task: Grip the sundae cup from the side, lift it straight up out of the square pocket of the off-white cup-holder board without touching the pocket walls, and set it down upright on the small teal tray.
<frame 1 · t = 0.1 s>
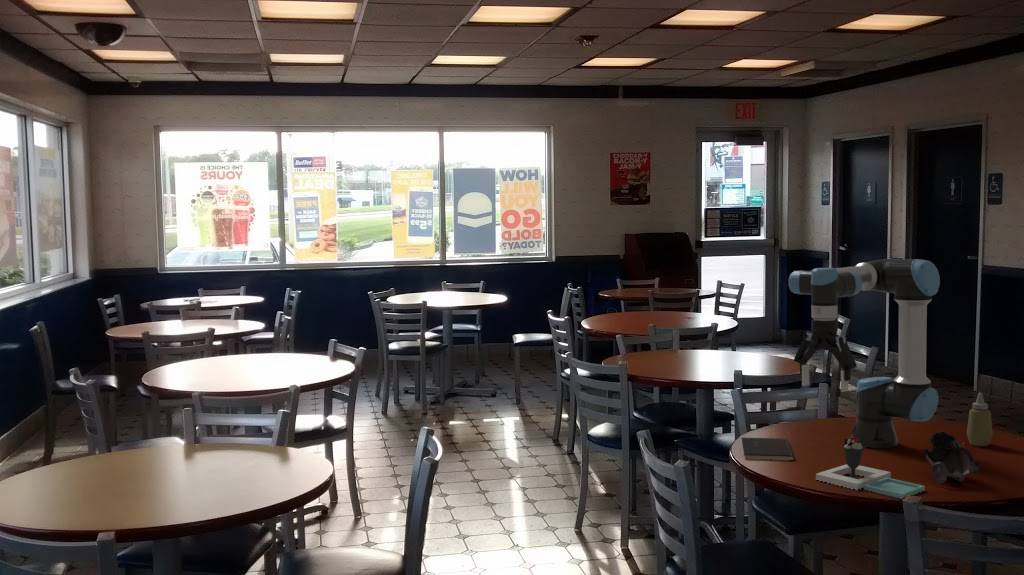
hand: (824, 388, 287), 28 cm above the table, tool pointing down, fingers open, 13 cm apart
holder board: (853, 479, 287), on the table
squeeze bottle: (979, 445, 325), on the table
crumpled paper: (947, 478, 286), on the table
hardcover book: (766, 453, 323), on the table
sundae: (853, 480, 287), resting in holder board
tray: (894, 490, 276), on the table
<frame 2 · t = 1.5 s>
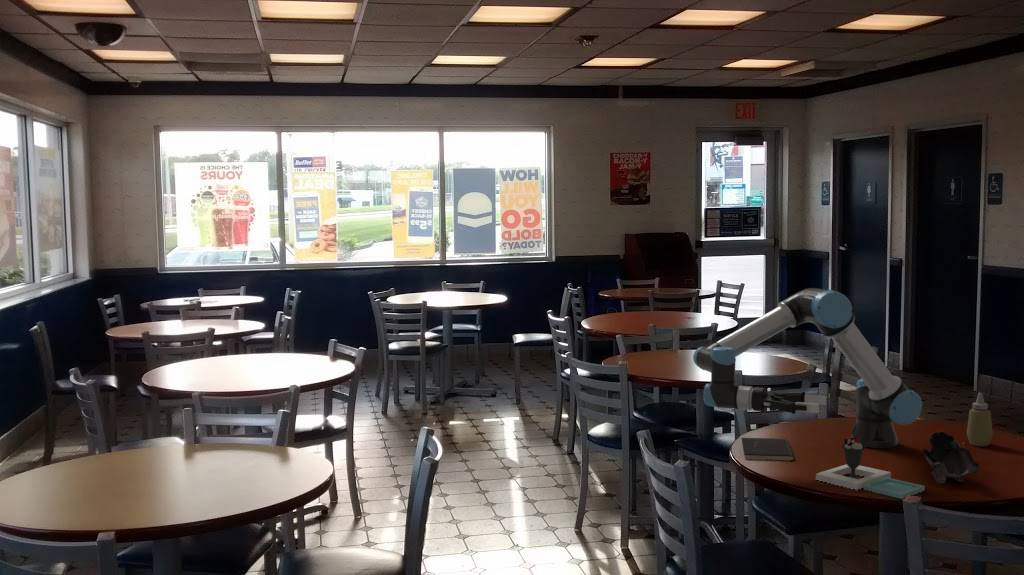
hand: (822, 404, 290), 22 cm above the table, tool horizontal, fingers open, 13 cm apart
nothing on the table moved.
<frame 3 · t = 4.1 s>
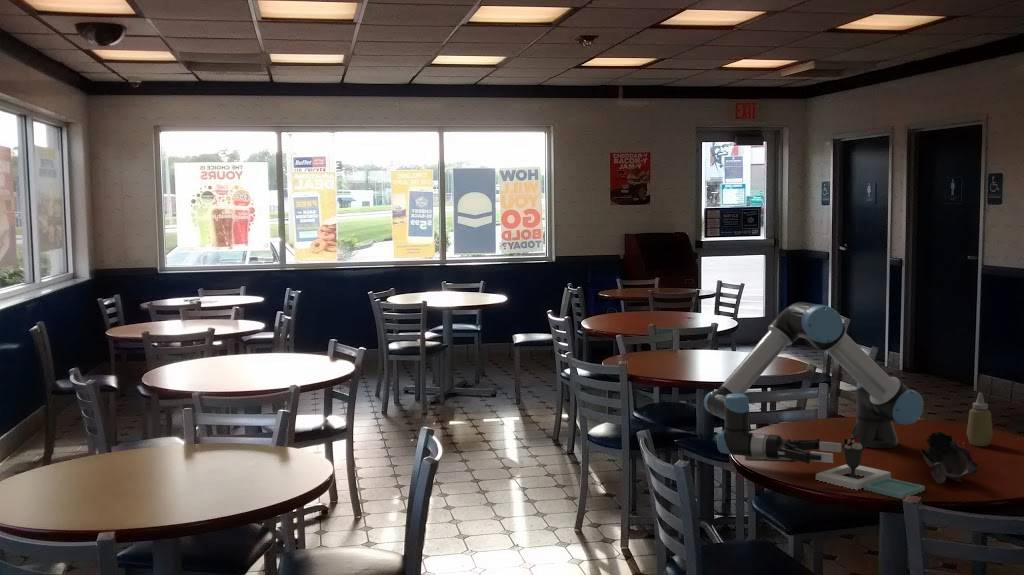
hand: (837, 453, 288), 8 cm above the table, tool horizontal, fingers open, 13 cm apart
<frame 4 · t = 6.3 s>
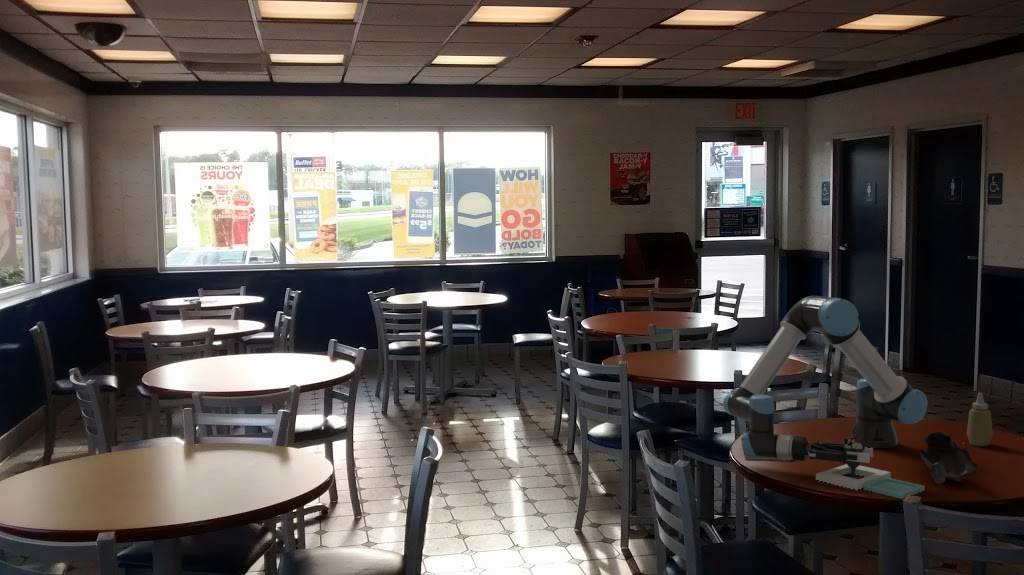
hand: (871, 455, 284), 8 cm above the table, tool horizontal, fingers closed on sundae, 6 cm apart
sundae: (853, 480, 287), resting in holder board, touching gripper
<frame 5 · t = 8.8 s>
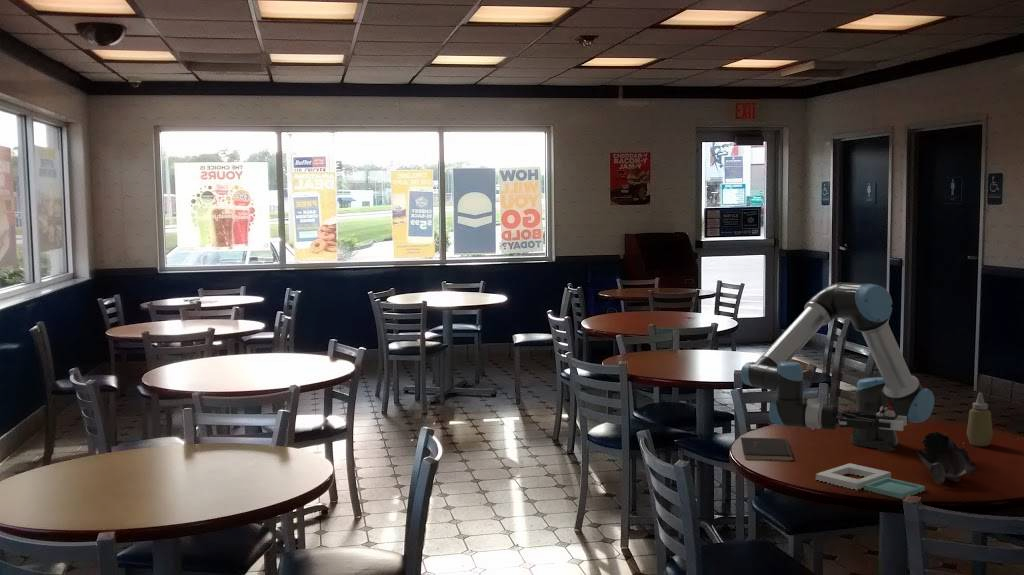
hand: (904, 423, 273), 20 cm above the table, tool horizontal, fingers closed on sundae, 6 cm apart
sundae: (885, 449, 276), point 12 cm above the table, touching gripper
when the fingers open (10 cm above the table, at t = 11.2 s): sundae drops 1 cm, resting on tray.
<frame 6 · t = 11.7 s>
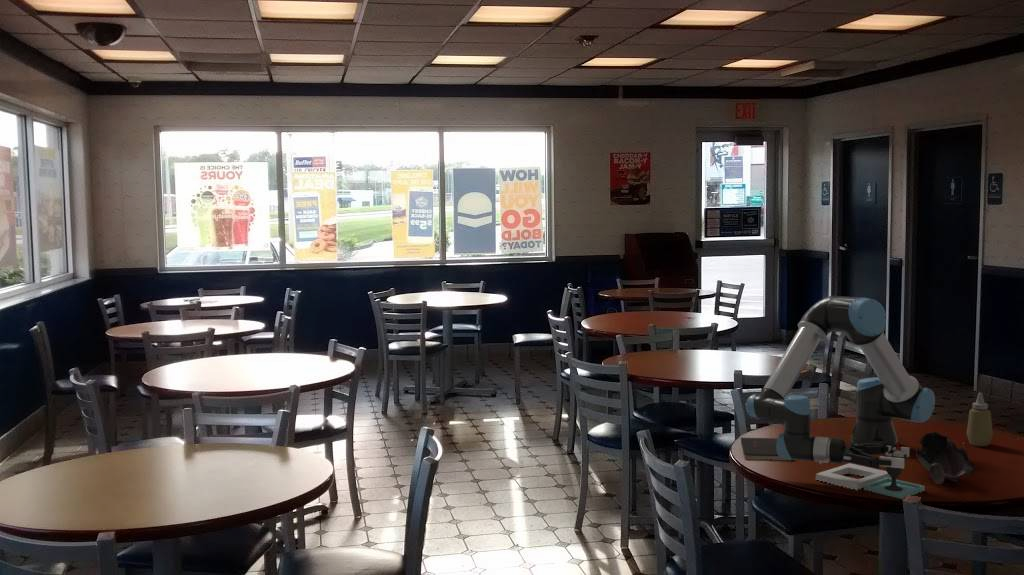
hand: (906, 457, 273), 10 cm above the table, tool horizontal, fingers open, 13 cm apart
sundae: (893, 489, 275), resting on tray
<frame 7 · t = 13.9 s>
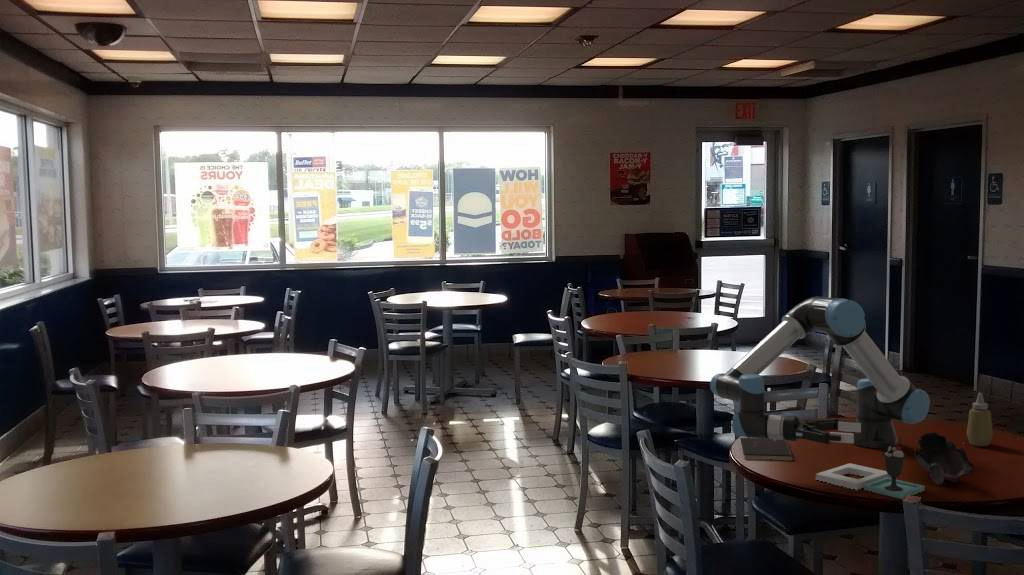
hand: (857, 433, 279), 16 cm above the table, tool horizontal, fingers open, 13 cm apart
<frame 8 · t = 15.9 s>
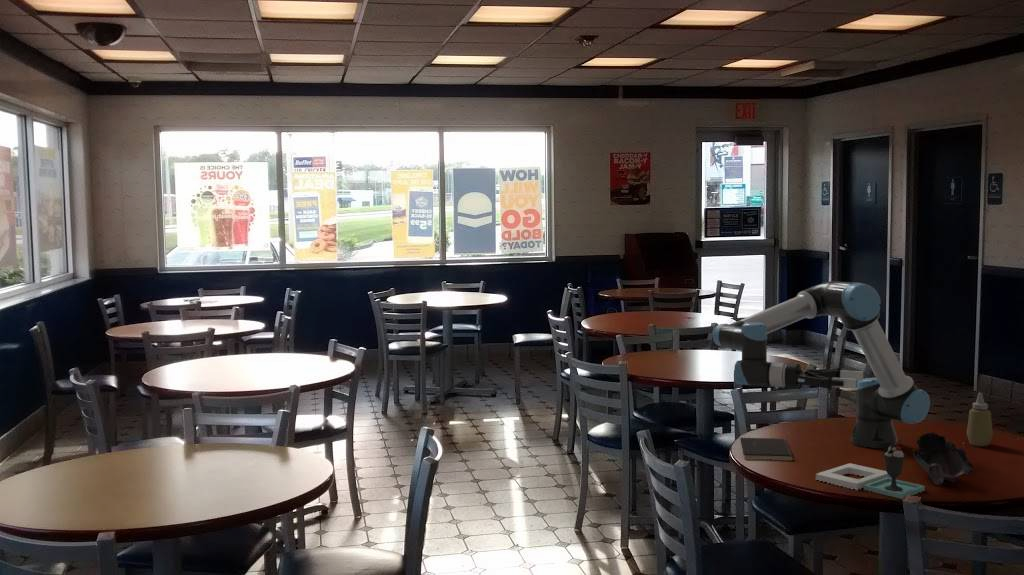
hand: (859, 379, 278), 32 cm above the table, tool horizontal, fingers open, 13 cm apart
at the end: sundae inside the target area on the tray (0.7 cm from its centre), point 0.4 cm above the tray's base; sundae tilted 0°; the gripper is holding nothing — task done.
